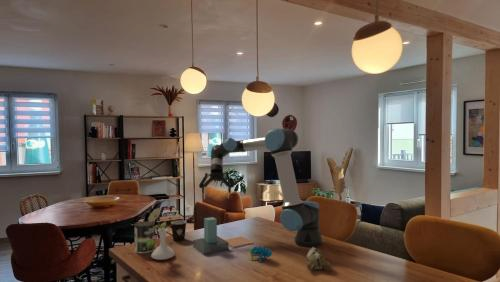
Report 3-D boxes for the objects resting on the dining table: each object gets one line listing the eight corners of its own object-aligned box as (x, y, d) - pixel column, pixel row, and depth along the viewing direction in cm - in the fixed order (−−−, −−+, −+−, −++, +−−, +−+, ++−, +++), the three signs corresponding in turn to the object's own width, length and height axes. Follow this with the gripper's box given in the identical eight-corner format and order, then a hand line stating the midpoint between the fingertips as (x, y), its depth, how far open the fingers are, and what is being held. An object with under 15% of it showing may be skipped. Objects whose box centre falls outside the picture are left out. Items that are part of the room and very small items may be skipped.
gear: (275, 254, 161) (268, 244, 155) (273, 266, 157) (266, 256, 151) (254, 254, 165) (246, 245, 159) (252, 266, 161) (244, 256, 155)
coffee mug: (188, 237, 194) (188, 220, 194) (183, 242, 186) (183, 224, 186) (169, 236, 196) (168, 220, 195) (163, 241, 187) (163, 224, 187)
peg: (217, 249, 174) (216, 219, 174) (208, 251, 171) (208, 220, 171) (212, 246, 178) (212, 217, 178) (204, 248, 176) (204, 218, 175)
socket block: (228, 250, 173) (228, 242, 173) (203, 255, 165) (203, 247, 165) (216, 242, 185) (216, 235, 184) (193, 247, 177) (193, 239, 177)
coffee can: (159, 248, 175) (158, 222, 175) (143, 255, 166) (143, 227, 166) (145, 245, 180) (145, 220, 180) (130, 251, 172) (129, 224, 171)
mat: (253, 243, 183) (253, 242, 183) (233, 247, 176) (233, 246, 176) (241, 237, 194) (241, 236, 194) (221, 241, 187) (221, 240, 187)
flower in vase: (167, 251, 171) (166, 203, 170) (179, 257, 162) (178, 207, 162) (143, 258, 161) (143, 207, 161) (155, 265, 153) (154, 211, 153)
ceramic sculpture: (324, 243, 156) (333, 256, 141) (324, 260, 157) (333, 276, 142) (301, 243, 156) (308, 257, 141) (302, 261, 157) (308, 276, 142)
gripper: (237, 170, 206) (238, 200, 193) (196, 171, 205) (195, 201, 191) (237, 163, 201) (238, 193, 187) (195, 164, 199) (193, 194, 185)
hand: (216, 197), depth 189 cm, fingers open, 13 cm apart
